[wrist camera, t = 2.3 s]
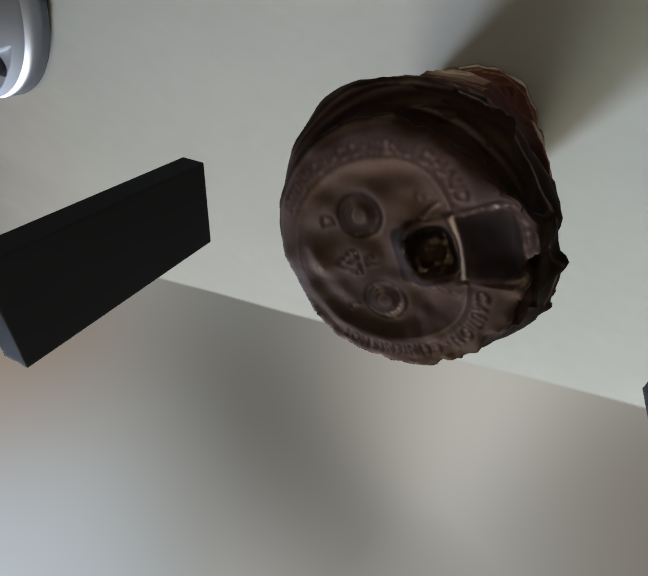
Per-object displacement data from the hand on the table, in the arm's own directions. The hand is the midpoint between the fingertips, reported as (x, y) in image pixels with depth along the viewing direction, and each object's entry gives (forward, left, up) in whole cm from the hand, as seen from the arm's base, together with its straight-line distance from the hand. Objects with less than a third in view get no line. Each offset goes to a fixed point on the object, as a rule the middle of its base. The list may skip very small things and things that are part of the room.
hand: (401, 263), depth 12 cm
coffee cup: (0, 0, -13) cm, 13 cm away
